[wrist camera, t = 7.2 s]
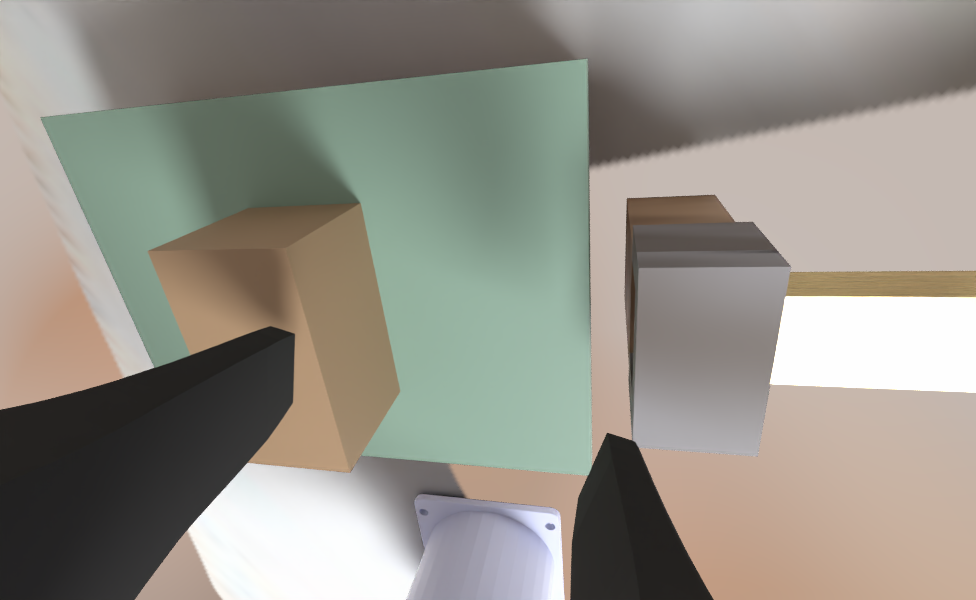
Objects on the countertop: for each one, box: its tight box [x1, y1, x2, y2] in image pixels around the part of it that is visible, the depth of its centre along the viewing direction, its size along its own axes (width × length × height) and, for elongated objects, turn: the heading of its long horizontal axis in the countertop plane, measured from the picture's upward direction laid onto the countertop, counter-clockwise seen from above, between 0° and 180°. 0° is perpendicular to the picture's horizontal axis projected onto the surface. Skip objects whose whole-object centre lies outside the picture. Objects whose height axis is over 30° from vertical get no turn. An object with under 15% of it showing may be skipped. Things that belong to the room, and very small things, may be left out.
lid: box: [40, 59, 592, 476], centre depth 16 cm, size 14×18×5 cm
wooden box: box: [625, 195, 791, 456], centre depth 17 cm, size 13×22×8 cm, turn 96°
